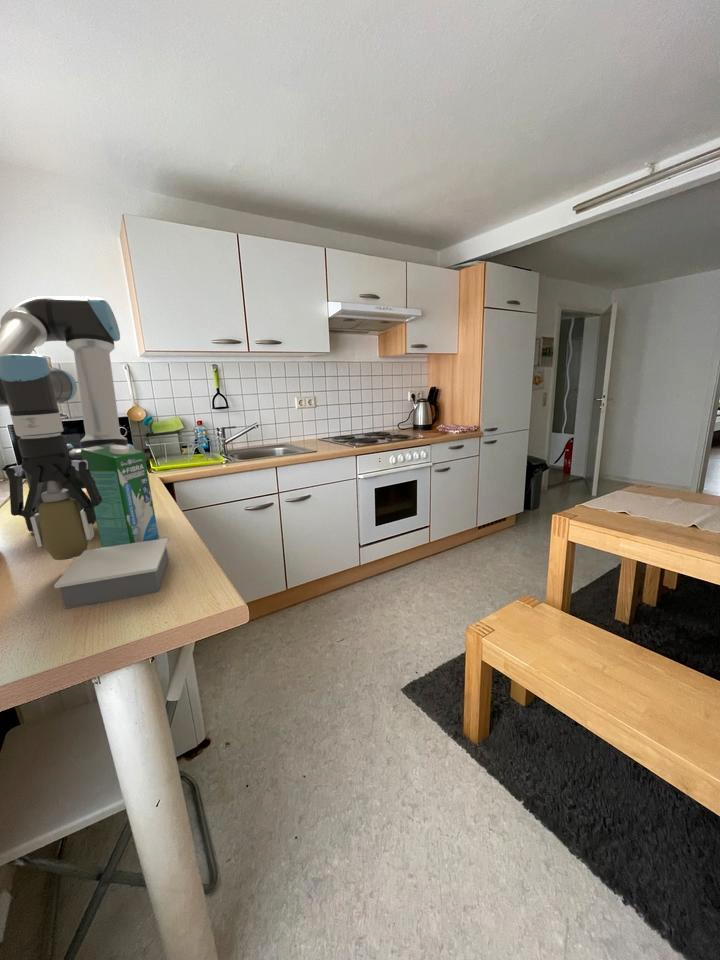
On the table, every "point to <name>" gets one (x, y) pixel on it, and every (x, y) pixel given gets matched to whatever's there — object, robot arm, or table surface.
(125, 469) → the milk carton
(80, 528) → the squeeze bottle
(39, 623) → the table surface
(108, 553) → the display podium
